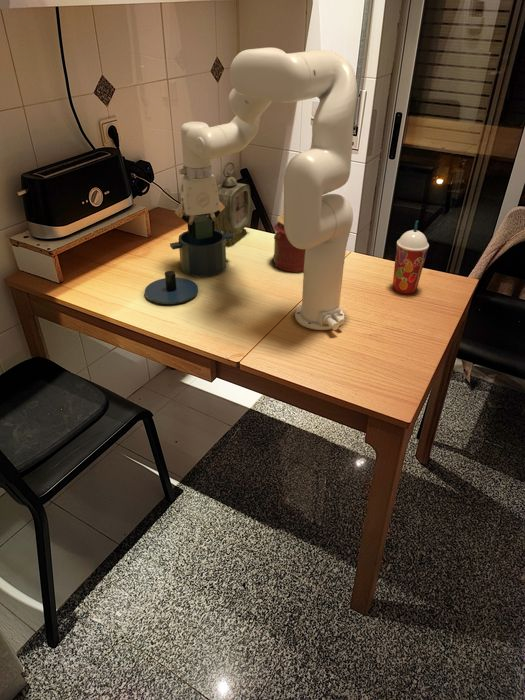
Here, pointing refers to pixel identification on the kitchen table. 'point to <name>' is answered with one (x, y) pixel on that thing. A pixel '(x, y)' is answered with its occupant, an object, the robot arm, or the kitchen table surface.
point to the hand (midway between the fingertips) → (201, 233)
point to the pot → (202, 253)
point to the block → (202, 227)
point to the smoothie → (409, 260)
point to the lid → (171, 289)
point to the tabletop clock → (233, 205)
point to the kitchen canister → (286, 250)
